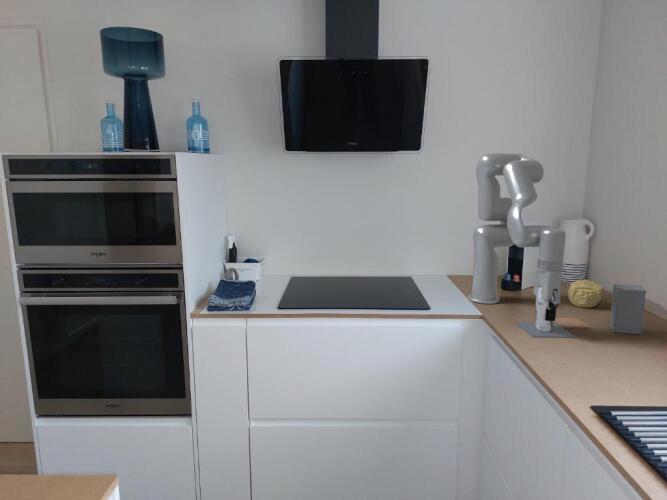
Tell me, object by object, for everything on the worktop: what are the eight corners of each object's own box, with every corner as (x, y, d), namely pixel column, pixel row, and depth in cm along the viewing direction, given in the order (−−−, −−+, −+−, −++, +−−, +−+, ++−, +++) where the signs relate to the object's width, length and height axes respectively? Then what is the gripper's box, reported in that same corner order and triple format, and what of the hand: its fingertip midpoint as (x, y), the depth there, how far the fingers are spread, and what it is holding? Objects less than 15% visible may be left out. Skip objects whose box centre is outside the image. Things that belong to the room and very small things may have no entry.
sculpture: (568, 307, 178) (571, 281, 176) (565, 299, 189) (568, 274, 187) (601, 311, 174) (604, 284, 172) (596, 303, 185) (599, 277, 183)
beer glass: (557, 333, 150) (562, 290, 147) (535, 331, 151) (539, 288, 148) (552, 326, 157) (556, 284, 154) (530, 324, 158) (534, 283, 155)
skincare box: (635, 329, 155) (641, 284, 152) (641, 336, 148) (648, 289, 146) (607, 326, 158) (612, 282, 155) (612, 333, 151) (618, 287, 148)
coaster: (550, 319, 164) (551, 317, 164) (575, 319, 164) (575, 318, 164) (563, 328, 155) (563, 326, 155) (589, 328, 155) (589, 326, 155)
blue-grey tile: (515, 322, 161) (515, 322, 161) (554, 322, 161) (554, 322, 161) (532, 337, 147) (532, 336, 147) (575, 337, 147) (575, 336, 147)
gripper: (527, 260, 158) (523, 309, 162) (551, 271, 141) (546, 326, 145) (548, 260, 158) (544, 309, 162) (575, 271, 141) (569, 326, 145)
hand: (545, 316), depth 153 cm, fingers closed on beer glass, 6 cm apart
